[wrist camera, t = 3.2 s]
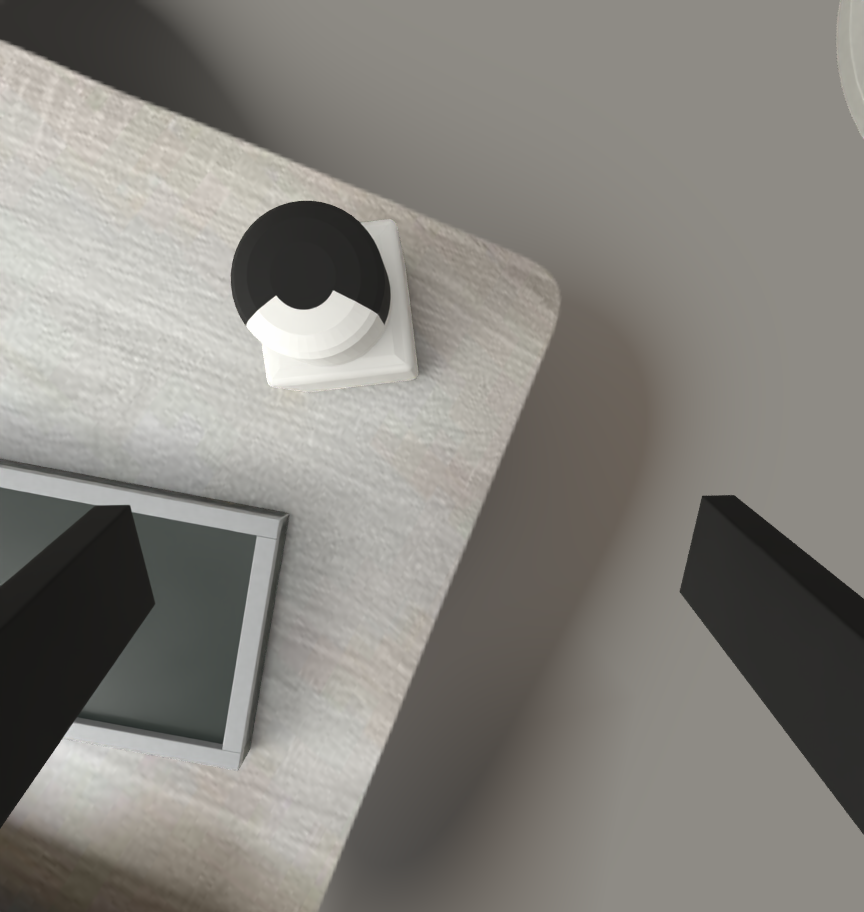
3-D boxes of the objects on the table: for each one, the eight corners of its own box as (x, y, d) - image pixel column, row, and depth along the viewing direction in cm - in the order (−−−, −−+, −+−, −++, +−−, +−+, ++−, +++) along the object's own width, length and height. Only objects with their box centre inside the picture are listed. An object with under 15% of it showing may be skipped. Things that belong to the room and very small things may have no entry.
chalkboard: (289, 513, 32) (279, 519, 30) (249, 750, 34) (238, 771, 32) (-58, 447, 32) (-91, 450, 30) (-84, 688, 34) (-116, 706, 32)
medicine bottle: (287, 275, 31) (194, 189, 19) (405, 260, 31) (385, 165, 19) (304, 393, 32) (223, 382, 20) (419, 379, 32) (409, 359, 20)
